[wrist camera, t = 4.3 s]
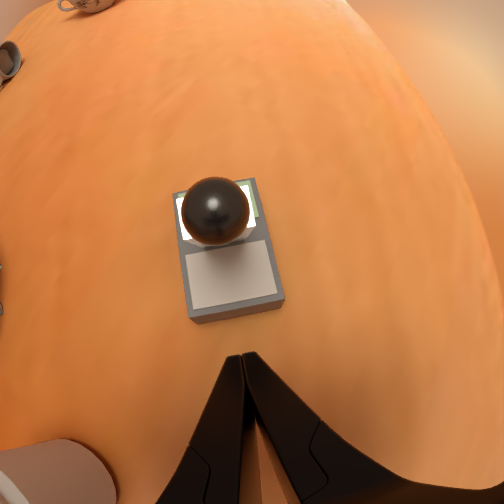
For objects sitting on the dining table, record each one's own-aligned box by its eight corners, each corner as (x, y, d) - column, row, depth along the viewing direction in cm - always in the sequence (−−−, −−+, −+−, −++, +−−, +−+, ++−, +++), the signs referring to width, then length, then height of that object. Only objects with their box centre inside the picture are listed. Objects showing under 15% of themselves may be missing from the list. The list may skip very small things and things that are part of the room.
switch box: (280, 307, 22) (285, 298, 19) (197, 324, 21) (188, 317, 18) (254, 198, 25) (254, 176, 22) (181, 212, 24) (172, 191, 21)
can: (78, 421, 18) (-34, 438, 7) (139, 497, 16) (60, 570, 5) (31, 457, 17) (-67, 477, 5) (85, 525, 15) (5, 580, 3)
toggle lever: (247, 247, 20) (262, 235, 10) (204, 255, 20) (179, 252, 10) (239, 207, 20) (247, 161, 10) (196, 215, 20) (167, 177, 10)
